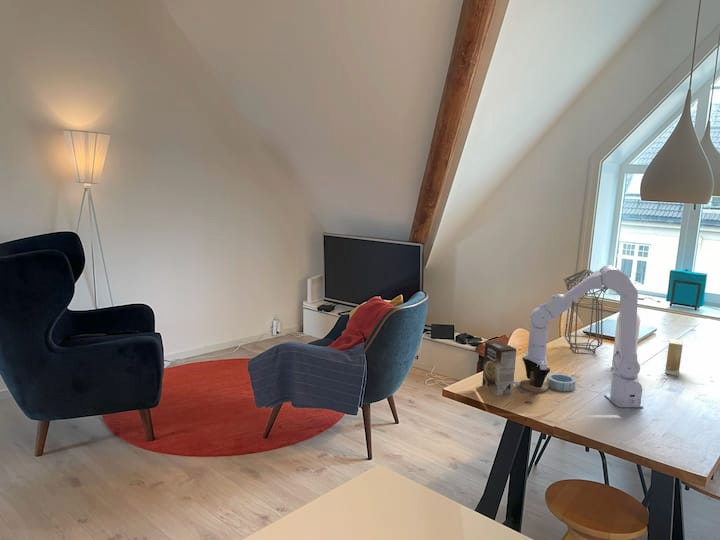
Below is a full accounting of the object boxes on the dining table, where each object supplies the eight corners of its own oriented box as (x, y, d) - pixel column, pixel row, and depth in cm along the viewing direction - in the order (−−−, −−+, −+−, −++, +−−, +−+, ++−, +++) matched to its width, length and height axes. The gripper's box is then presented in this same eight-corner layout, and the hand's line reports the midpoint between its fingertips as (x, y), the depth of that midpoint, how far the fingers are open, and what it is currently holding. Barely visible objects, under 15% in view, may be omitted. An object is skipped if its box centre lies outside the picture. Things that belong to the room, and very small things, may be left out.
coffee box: (481, 387, 176) (484, 341, 174) (497, 385, 178) (500, 340, 176) (497, 398, 168) (500, 350, 165) (513, 395, 170) (517, 348, 167)
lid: (552, 393, 171) (553, 378, 170) (525, 392, 171) (526, 377, 170) (542, 382, 180) (543, 368, 179) (516, 382, 180) (517, 368, 179)
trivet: (552, 395, 170) (552, 393, 170) (522, 395, 170) (522, 393, 170) (541, 384, 180) (541, 382, 180) (513, 383, 180) (513, 381, 180)
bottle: (606, 367, 200) (614, 290, 195) (620, 364, 203) (628, 289, 198) (625, 374, 193) (634, 294, 188) (639, 371, 196) (648, 293, 191)
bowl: (579, 393, 173) (580, 383, 173) (552, 392, 173) (553, 383, 172) (568, 383, 182) (569, 373, 181) (542, 382, 182) (543, 373, 181)
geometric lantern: (607, 358, 210) (614, 273, 204) (566, 356, 213) (572, 272, 207) (596, 346, 226) (602, 266, 220) (558, 344, 228) (563, 266, 222)
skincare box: (665, 369, 199) (669, 338, 197) (678, 371, 197) (682, 340, 195) (665, 374, 194) (669, 342, 192) (678, 376, 191) (682, 344, 189)
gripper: (518, 337, 180) (515, 374, 182) (533, 350, 165) (529, 391, 168) (538, 337, 180) (535, 375, 182) (554, 351, 166) (551, 391, 168)
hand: (534, 382), depth 175 cm, fingers open, 7 cm apart
